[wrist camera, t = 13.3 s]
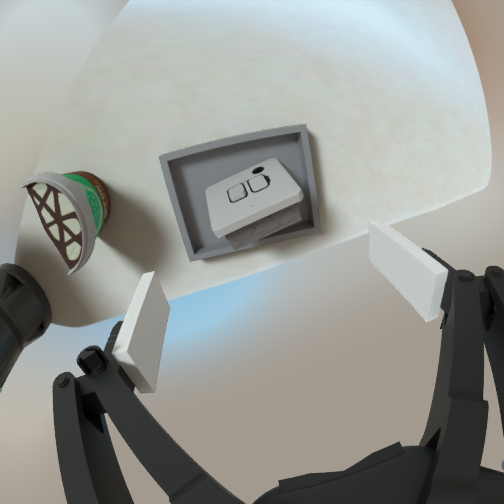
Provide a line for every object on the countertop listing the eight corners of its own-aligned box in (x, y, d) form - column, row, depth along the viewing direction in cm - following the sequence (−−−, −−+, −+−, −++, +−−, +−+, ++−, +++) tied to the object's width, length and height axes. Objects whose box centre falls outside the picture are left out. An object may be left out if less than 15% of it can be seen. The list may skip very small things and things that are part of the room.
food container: (134, 225, 34) (108, 260, 25) (100, 243, 35) (69, 279, 26) (94, 143, 29) (54, 153, 20) (61, 166, 29) (18, 183, 20)
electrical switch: (274, 155, 32) (297, 174, 24) (289, 191, 35) (314, 221, 27) (204, 187, 33) (202, 218, 25) (222, 222, 35) (227, 260, 28)
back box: (191, 253, 37) (190, 261, 35) (163, 154, 31) (158, 156, 29) (314, 225, 37) (320, 231, 35) (300, 124, 31) (305, 124, 29)
